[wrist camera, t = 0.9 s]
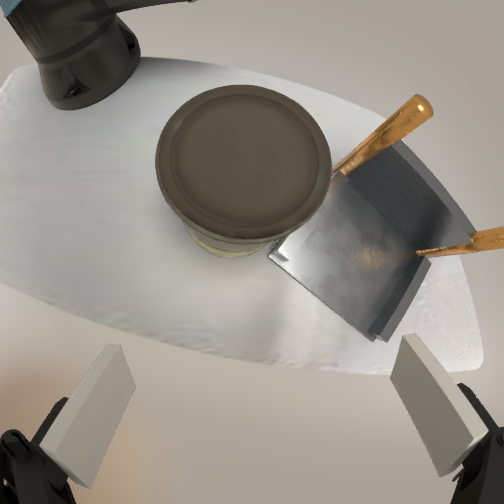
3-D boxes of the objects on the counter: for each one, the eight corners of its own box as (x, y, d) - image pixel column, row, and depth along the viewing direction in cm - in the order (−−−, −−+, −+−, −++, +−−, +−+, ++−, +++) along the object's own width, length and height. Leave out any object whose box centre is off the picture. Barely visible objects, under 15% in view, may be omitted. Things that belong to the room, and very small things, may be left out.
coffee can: (172, 178, 28) (142, 105, 14) (263, 155, 30) (297, 75, 16) (197, 271, 28) (179, 268, 14) (292, 242, 29) (356, 215, 15)
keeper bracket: (266, 255, 29) (325, 232, 13) (337, 162, 31) (417, 90, 15) (372, 341, 30) (471, 378, 14) (425, 249, 32) (522, 234, 16)
